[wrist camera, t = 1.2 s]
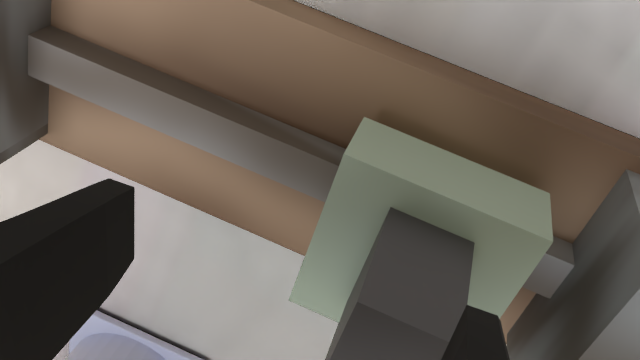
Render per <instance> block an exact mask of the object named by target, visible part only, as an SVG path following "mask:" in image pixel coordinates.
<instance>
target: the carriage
mask: <svg viewBox="0 0 640 360" xmlns="http://www.w3.org/2000/svg"><path fill="white" fill-rule="evenodd" d="M552 243H553V231H552V216H551V202H550V193H548V192H545V191H543V190H541V189H538V188H536V187H533V186H531V185H528V184H526V183H524V182H521V181H519V180H516V179H514V178H512V177H509V176H507V175H504V174H502V173H499V172H497V171H495V170H492V169H490V168H487V167H485V166H482V165H480V164H478V163H475V162H473V161H470V160H468V159H465V158H463V157H461V156H458V155H456V154H453V153H451V152H449V151H446V150H444V149H441V148H439V147H436V146H434V145H432V144H429V143H427V142H424V141H422V140H419V139H417V138H415V137H412V136H410V135H407V134H405V133H402V132H400V131H398V130H395V129H393V128H390V127H388V126H386V125H383V124H381V123H378V122H376V121H373V120H371V119H369V118H366V117H364V118H363V120H362V122H361V123H360V125H359V127H358V129H357V131H356V132H355V134H354V136H353V138H352V140H351V141H350V143H349V145H348V147H347V149H346V151H345V152H344V154H343V157H342V160H341V162H340V165H339V168H338V170H337V173H336V176H335V178H334V181H333V184H332V186H331V189H330V191H329V194H328V197H327V199H326V202H325V205H324V207H323V210H322V213H321V215H320V218H319V221H318V223H317V226H316V229H315V231H314V234H313V237H312V239H311V242H310V245H309V247H308V250H307V253H306V255H305V258H304V261H303V263H302V266H301V269H300V271H299V274H298V277H297V279H296V282H295V284H294V287H293V290H292V292H291V295H290V298H289V301H291V302H293V303H296V304H298V305H300V306H302V307H305V308H307V309H309V310H311V311H314V312H316V313H318V314H320V315H323V316H325V317H327V318H329V319H332V320H334V321H336V322H338V323H339V324H338V327H337V329H336V332H335V335H334V337H333V340H332V343H331V346H330V348H329V351H328V354H327V356H326V359H325V360H441V359H442V356H443V354H444V352H445V350H446V348H447V346H448V344H449V341H450V339H451V337H452V335H453V333H454V331H455V329H456V326H457V324H458V322H459V320H460V318H461V316H462V314H463V311H464V309H465V307H466V305H469V306H472V307H475V308H478V309H481V310H483V311H486V312H489V313H492V314H495V315H498V317H499V319H500V318H501V316H502V315H503V313H504V312H505V310H506V309H507V308H508V306H509V305H510V303H511V302H512V300H513V299H514V297H515V296H516V295H517V293H518V292H519V290H520V289H521V287H522V286H523V285H524V283H525V282H526V280H527V279H528V277H529V276H530V275H531V273H532V272H533V270H534V269H535V267H536V266H537V264H538V263H539V262H540V260H541V259H542V257H543V256H544V254H545V253H546V252H547V250H548V249H549V247H550V246H551V244H552Z"/></svg>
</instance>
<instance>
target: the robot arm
mask: <svg viewBox="0 0 640 360" xmlns="http://www.w3.org/2000/svg"><path fill="white" fill-rule="evenodd" d="M133 260H134V187H132V186H129V185H126V184H123V183H120V182H118V181H115V180H112V179H106V180H103V181H101V182H98V183H95V184H93V185H90V186H88V187H86V188H83V189H81V190H78V191H76V192H74V193H71V194H69V195H66V196H64V197H62V198H59V199H57V200H55V201H52V202H50V203H47V204H45V205H42V206H40V207H37V208H35V209H33V210H30V211H28V212H25V213H23V214H20V215H18V216H15V217H13V218H10V219H8V220H5V221H2V222H0V360H52V359H53V358H54V357H55V356H56V355H57V354H58V353H59V351H60V350H61V349H62V348H63V347H64V346H65V345H66V344H67V343H68V341H69V340H70V342H69V355H68V356H67V358H66V359H65V360H203V359H201V358H199V357H197V356H195V355H193V354H190V353H188V352H186V351H184V350H182V349H179V348H177V347H175V346H173V345H171V344H169V343H166V342H164V341H162V340H160V339H158V338H156V337H153V336H151V335H149V334H147V333H145V332H143V331H140V330H138V329H136V328H134V327H132V326H130V325H127V324H125V323H123V322H121V321H119V320H117V319H114V318H112V317H110V316H108V315H106V314H104V313H101V312H99V311H97V309H98V308H99V307H100V306H101V304H102V303H103V302H104V301H105V300H106V299H107V297H108V296H109V295H110V293H111V292H112V291H113V289H114V288H115V286H116V285H117V284H118V282H119V281H120V279H121V278H122V276H123V275H124V273H125V272H126V270H127V269H128V267H129V266H130V264H131V263H132V261H133ZM441 360H510V358H509V354H508V350H507V346H506V342H505V338H504V333H503V329H502V324H501V321H500V319H499V317H498V315H495V314H492V313H489V312H486V311H483V310H481V309H478V308H475V307H472V306H469V305H466V307H465V309H464V311H463V314H462V316H461V318H460V320H459V322H458V324H457V326H456V329H455V331H454V333H453V335H452V337H451V339H450V341H449V344H448V346H447V348H446V350H445V352H444V354H443V356H442V359H441Z"/></svg>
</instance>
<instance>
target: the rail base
mask: <svg viewBox="0 0 640 360" xmlns="http://www.w3.org/2000/svg"><path fill="white" fill-rule="evenodd" d="M364 117H366V118H369V119H371V120H373V121H376V122H378V123H381V124H383V125H386V126H388V127H390V128H393V129H395V130H398V131H400V132H402V133H405V134H407V135H410V136H412V137H415V138H417V139H419V140H422V141H424V142H427V143H429V144H432V145H434V146H436V147H439V148H441V149H444V150H446V151H449V152H451V153H453V154H456V155H458V156H461V157H463V158H465V159H468V160H470V161H473V162H475V163H478V164H480V165H482V166H485V167H487V168H490V169H492V170H495V171H497V172H499V173H502V174H504V175H507V176H509V177H512V178H514V179H516V180H519V181H521V182H524V183H526V184H528V185H531V186H533V187H536V188H538V189H541V190H543V191H545V192H548V193H550V202H551V216H552V231H553V243H552V244H551V246H550V247H549V249H548V250H547V252H546V253H545V254H544V256H543V257H542V259H541V260H540V262H539V263H538V264H537V266H536V267H535V269H534V270H533V272H532V273H531V275H530V276H529V277H528V279H527V280H526V282H525V283H524V285H523V286H522V287H521V289H520V290H519V292H518V293H517V295H516V296H515V297H514V299H513V300H512V302H511V303H510V305H509V306H508V308H507V309H506V310H505V312H504V313H503V315H502V316H501V318H500V321H501V324H502V329H503V333H504V338H505V342H506V344H507V350H508V354H509V358H510V360H640V139H638V138H636V137H633V136H631V135H628V134H626V133H623V132H621V131H618V130H616V129H613V128H611V127H608V126H606V125H603V124H601V123H598V122H596V121H593V120H591V119H588V118H586V117H583V116H581V115H578V114H576V113H573V112H571V111H568V110H566V109H563V108H561V107H558V106H556V105H553V104H551V103H548V102H546V101H543V100H541V99H538V98H536V97H533V96H531V95H528V94H526V93H523V92H521V91H518V90H516V89H513V88H511V87H508V86H506V85H503V84H501V83H498V82H496V81H493V80H491V79H488V78H486V77H483V76H481V75H478V74H476V73H473V72H471V71H468V70H466V69H463V68H461V67H458V66H456V65H453V64H451V63H448V62H446V61H443V60H441V59H438V58H436V57H433V56H431V55H428V54H426V53H423V52H421V51H418V50H416V49H413V48H411V47H408V46H406V45H403V44H401V43H398V42H396V41H393V40H391V39H388V38H386V37H383V36H381V35H378V34H376V33H373V32H371V31H368V30H366V29H363V28H361V27H358V26H356V25H353V24H351V23H348V22H346V21H343V20H341V19H338V18H336V17H333V16H330V15H328V14H325V13H323V12H320V11H318V10H315V9H313V8H310V7H308V6H305V5H303V4H300V3H298V2H295V1H293V0H0V164H1V163H3V162H4V161H6V160H7V159H9V158H11V157H12V156H14V155H15V154H17V153H18V152H20V151H21V150H23V149H24V148H26V147H28V146H29V145H31V144H32V143H34V142H35V141H37V140H38V139H39V140H41V141H43V142H46V143H48V144H50V145H53V146H55V147H57V148H59V149H62V150H64V151H66V152H69V153H71V154H73V155H75V156H78V157H80V158H82V159H85V160H87V161H89V162H91V163H94V164H96V165H98V166H101V167H103V168H105V169H107V170H110V171H112V172H114V173H117V174H119V175H121V176H123V177H126V178H128V179H130V180H133V181H135V182H137V183H139V184H142V185H144V186H146V187H149V188H151V189H153V190H155V191H158V192H160V193H162V194H164V195H167V196H169V197H171V198H174V199H176V200H178V201H180V202H183V203H185V204H187V205H190V206H192V207H194V208H196V209H199V210H201V211H203V212H206V213H208V214H210V215H212V216H215V217H217V218H219V219H222V220H224V221H226V222H228V223H231V224H233V225H235V226H238V227H240V228H242V229H244V230H247V231H249V232H251V233H254V234H256V235H258V236H260V237H263V238H265V239H267V240H270V241H272V242H274V243H276V244H279V245H281V246H283V247H285V248H288V249H290V250H292V251H295V252H297V253H299V254H301V255H304V256H305V255H306V253H307V250H308V247H309V245H310V242H311V239H312V237H313V234H314V231H315V229H316V226H317V223H318V221H319V218H320V215H321V213H322V210H323V207H324V205H325V202H326V199H327V197H328V194H329V191H330V189H331V186H332V184H333V181H334V178H335V176H336V173H337V170H338V168H339V165H340V162H341V160H342V157H343V154H344V152H345V151H346V149H347V147H348V145H349V143H350V141H351V140H352V138H353V136H354V134H355V132H356V131H357V129H358V127H359V125H360V123H361V122H362V120H363V118H364Z"/></svg>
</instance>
